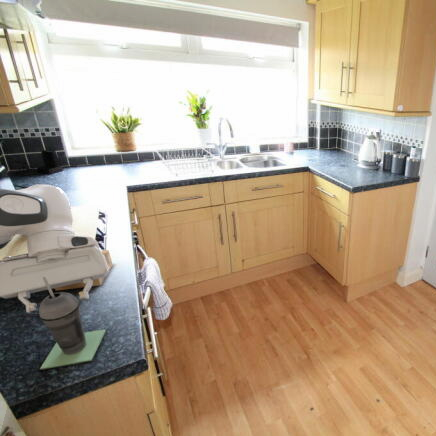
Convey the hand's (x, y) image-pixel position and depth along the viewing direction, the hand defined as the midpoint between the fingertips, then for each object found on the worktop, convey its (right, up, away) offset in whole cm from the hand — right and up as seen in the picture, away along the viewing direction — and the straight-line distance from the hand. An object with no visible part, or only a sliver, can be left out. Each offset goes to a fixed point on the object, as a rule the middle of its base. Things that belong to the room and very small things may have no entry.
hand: (59, 305), depth 72 cm
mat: (0, -12, +5) cm, 13 cm away
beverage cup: (0, -12, +4) cm, 12 cm away
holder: (-18, +1, +31) cm, 36 cm away
